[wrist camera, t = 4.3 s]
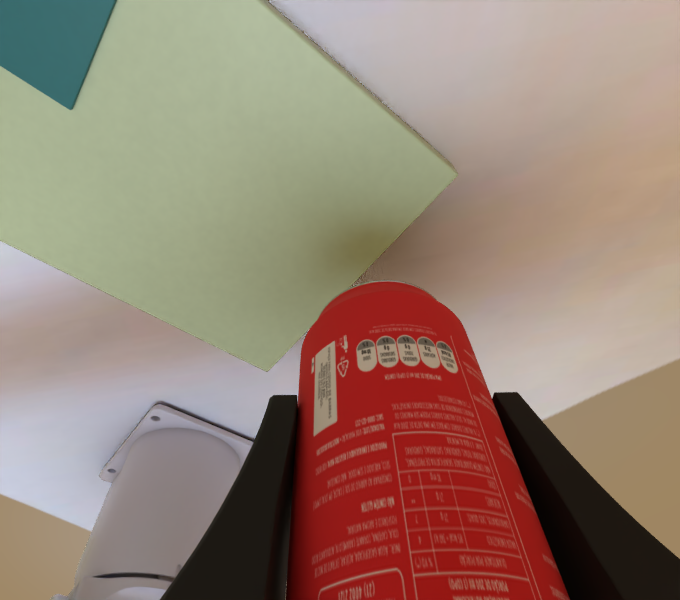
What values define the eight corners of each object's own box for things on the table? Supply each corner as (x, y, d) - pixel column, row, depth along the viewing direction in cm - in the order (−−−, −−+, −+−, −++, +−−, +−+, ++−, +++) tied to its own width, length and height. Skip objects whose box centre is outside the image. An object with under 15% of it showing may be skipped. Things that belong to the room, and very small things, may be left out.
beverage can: (490, 296, 14) (874, 1057, 4) (414, 399, 17) (538, 988, 7) (335, 247, 12) (368, 1164, 3) (283, 367, 15) (214, 1028, 6)
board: (269, 357, 25) (266, 375, 24) (-170, 134, 17) (-205, 145, 16) (452, 164, 18) (460, 177, 17) (-119, -340, 10) (-173, -378, 9)
